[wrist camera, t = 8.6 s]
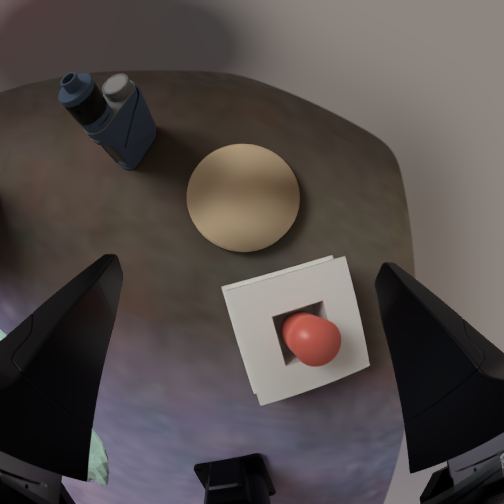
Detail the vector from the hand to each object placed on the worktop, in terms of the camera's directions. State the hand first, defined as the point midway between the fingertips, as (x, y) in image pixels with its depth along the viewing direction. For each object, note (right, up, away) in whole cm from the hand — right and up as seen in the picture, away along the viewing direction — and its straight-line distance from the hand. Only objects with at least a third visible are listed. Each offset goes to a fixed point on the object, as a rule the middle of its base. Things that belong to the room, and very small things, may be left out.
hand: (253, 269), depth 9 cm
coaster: (-1, +5, +14) cm, 14 cm away
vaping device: (-11, +10, +14) cm, 20 cm away
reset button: (+3, -5, +10) cm, 12 cm away
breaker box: (+3, -5, +13) cm, 14 cm away
